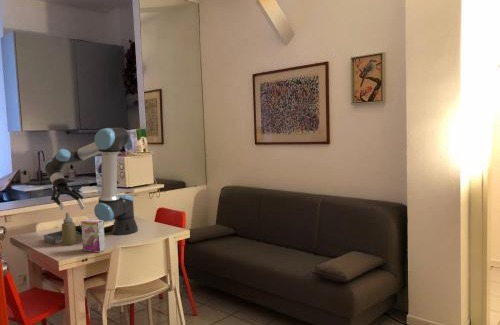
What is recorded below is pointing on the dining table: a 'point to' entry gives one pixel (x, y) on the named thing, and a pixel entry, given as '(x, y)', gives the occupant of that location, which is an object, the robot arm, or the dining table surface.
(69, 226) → the squeeze bottle
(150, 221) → the dining table surface
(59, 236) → the dark grey tray
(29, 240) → the dining table surface
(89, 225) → the candy bar box
